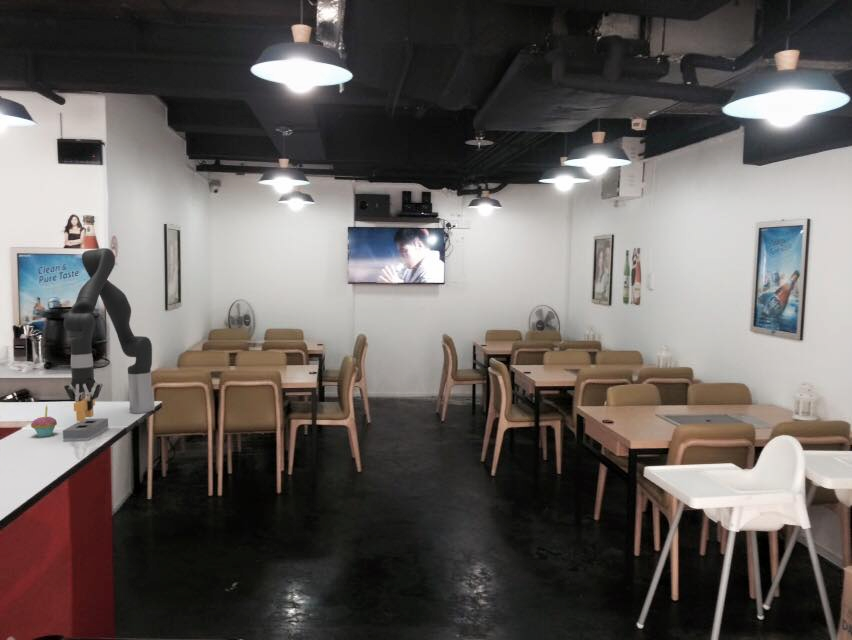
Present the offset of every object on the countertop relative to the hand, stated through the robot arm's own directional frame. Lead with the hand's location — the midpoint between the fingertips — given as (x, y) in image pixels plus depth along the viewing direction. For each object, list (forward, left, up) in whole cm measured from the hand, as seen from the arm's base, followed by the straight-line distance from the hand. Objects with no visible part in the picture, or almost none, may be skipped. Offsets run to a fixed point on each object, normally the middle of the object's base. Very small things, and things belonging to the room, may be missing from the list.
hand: (84, 410), depth 253 cm
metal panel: (0, 0, -10) cm, 10 cm away
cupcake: (+11, -12, -10) cm, 18 cm away
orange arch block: (0, 0, -3) cm, 3 cm away
